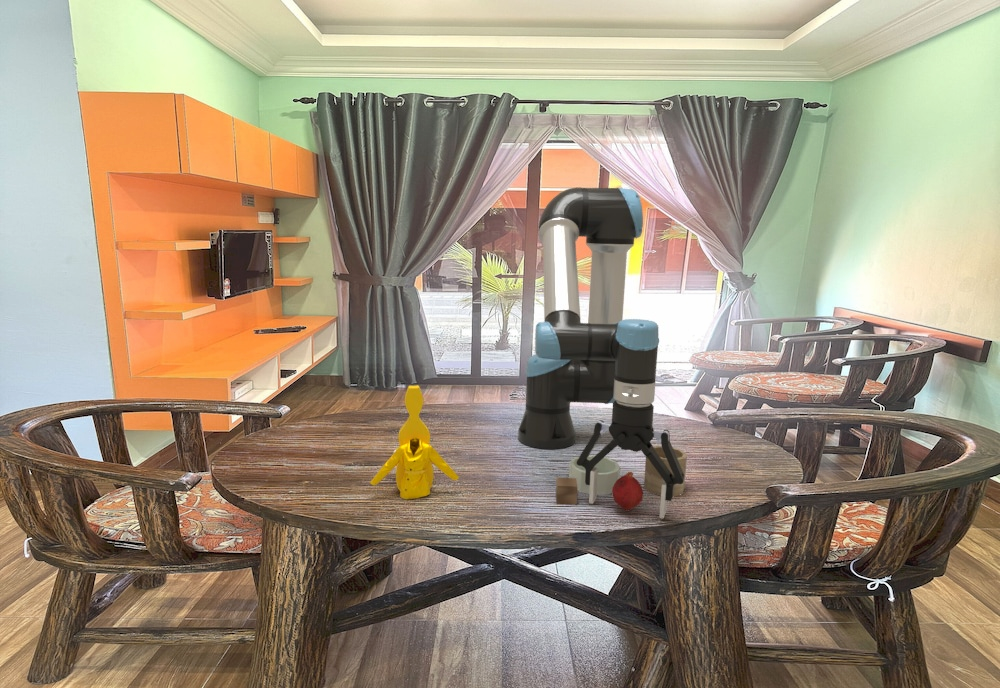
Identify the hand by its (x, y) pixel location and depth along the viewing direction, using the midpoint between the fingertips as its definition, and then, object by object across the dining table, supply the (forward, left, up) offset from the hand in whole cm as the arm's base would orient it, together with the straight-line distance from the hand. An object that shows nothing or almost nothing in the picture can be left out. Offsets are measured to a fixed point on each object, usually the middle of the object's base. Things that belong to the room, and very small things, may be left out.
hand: (626, 507), depth 108 cm
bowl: (-9, +9, -1) cm, 13 cm away
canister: (+5, +14, -1) cm, 15 cm away
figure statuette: (-41, -12, -1) cm, 43 cm away
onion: (0, 0, -1) cm, 1 cm away
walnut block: (-12, -1, -1) cm, 12 cm away
